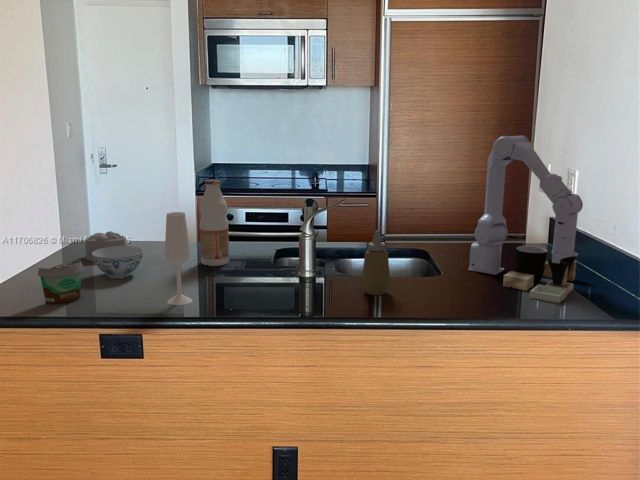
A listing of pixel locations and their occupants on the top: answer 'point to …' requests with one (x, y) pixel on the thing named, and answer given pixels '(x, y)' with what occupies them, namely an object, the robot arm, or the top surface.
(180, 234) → the champagne flute
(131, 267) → the chinaware
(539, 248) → the mug
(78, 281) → the food container
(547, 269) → the bench stop
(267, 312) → the top surface
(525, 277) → the push block
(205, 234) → the fruit juice
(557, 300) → the tray
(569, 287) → the collar
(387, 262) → the squeeze bottle
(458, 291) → the top surface
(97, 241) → the lumpy-topped squat cylinder
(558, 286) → the dowel
